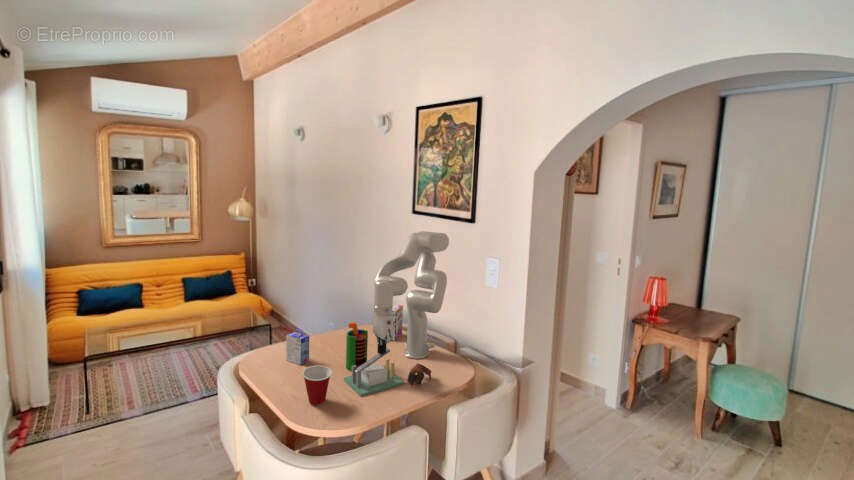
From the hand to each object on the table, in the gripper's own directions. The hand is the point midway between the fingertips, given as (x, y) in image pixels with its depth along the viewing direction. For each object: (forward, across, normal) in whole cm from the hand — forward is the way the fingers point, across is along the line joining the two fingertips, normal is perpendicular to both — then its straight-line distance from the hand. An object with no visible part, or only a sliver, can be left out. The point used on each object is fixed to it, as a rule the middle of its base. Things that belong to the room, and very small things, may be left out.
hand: (381, 352), depth 177 cm
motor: (+12, +18, +3) cm, 22 cm away
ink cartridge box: (+12, +37, +23) cm, 45 cm away
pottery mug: (+12, -9, -13) cm, 20 cm away
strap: (+3, +1, +4) cm, 5 cm away
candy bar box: (+11, +40, -30) cm, 51 cm away
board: (+12, +1, +3) cm, 13 cm away
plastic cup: (+13, -2, +28) cm, 31 cm away
